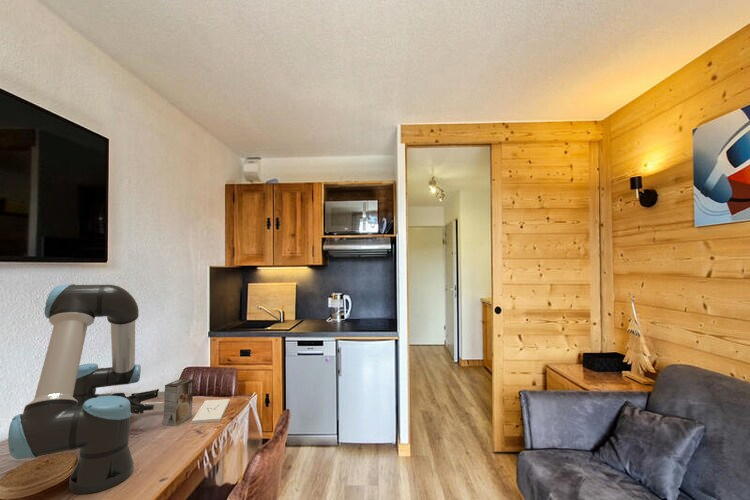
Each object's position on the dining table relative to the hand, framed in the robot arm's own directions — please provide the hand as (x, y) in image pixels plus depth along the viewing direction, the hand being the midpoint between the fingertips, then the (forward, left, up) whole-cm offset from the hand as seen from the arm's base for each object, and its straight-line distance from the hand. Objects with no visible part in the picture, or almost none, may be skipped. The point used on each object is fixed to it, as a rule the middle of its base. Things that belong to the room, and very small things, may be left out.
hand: (169, 399), depth 140 cm
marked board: (+6, -16, -9) cm, 19 cm away
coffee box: (-1, -4, -9) cm, 10 cm away
